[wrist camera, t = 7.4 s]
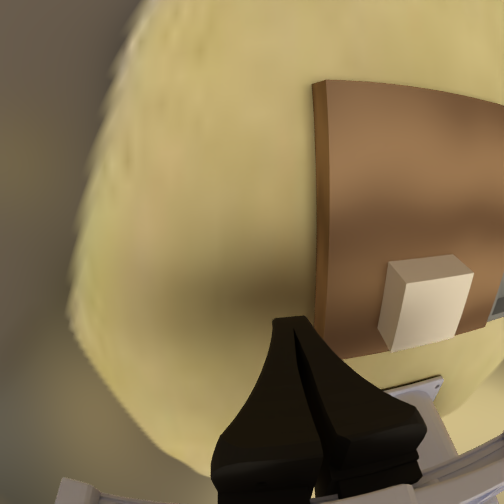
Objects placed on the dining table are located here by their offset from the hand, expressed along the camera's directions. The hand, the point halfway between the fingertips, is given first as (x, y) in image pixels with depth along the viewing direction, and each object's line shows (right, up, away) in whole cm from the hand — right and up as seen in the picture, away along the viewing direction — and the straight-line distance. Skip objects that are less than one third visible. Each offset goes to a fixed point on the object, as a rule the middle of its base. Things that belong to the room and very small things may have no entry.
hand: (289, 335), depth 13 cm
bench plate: (+8, +5, +3) cm, 10 cm away
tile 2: (+7, +1, +2) cm, 7 cm away
